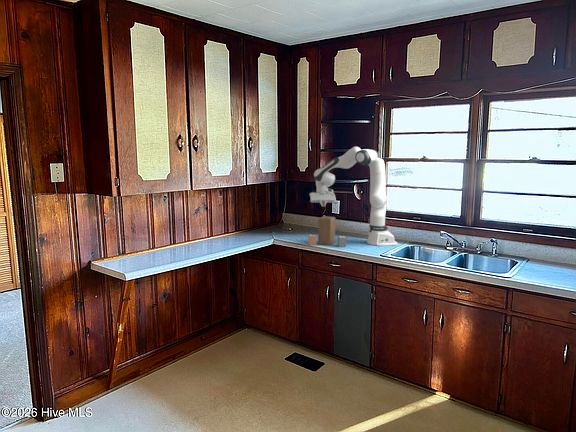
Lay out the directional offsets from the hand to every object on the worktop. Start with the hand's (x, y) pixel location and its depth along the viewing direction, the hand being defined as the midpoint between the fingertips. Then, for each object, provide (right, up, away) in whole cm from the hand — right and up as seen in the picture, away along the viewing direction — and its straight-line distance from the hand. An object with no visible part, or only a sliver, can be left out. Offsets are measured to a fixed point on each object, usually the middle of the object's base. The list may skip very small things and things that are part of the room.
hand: (323, 206), depth 332 cm
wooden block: (+1, -29, -16) cm, 33 cm away
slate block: (+11, -30, -24) cm, 40 cm away
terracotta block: (-10, -29, -19) cm, 36 cm away
